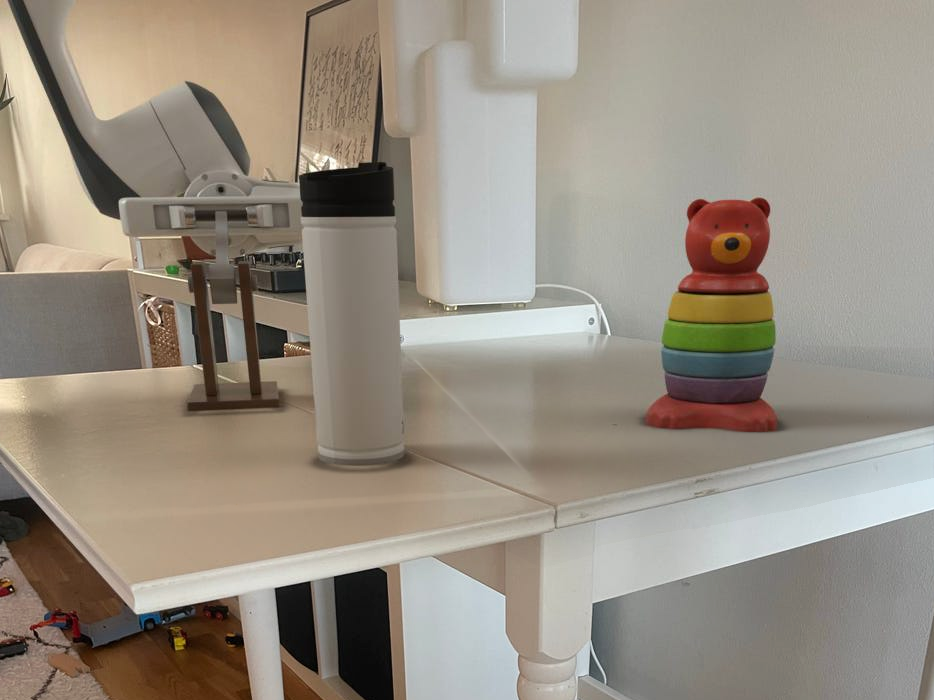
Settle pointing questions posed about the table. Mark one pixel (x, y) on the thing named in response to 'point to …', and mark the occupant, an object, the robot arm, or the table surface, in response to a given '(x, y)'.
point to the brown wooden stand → (212, 391)
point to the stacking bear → (720, 324)
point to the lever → (222, 254)
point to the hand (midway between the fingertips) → (221, 217)
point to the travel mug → (353, 313)
